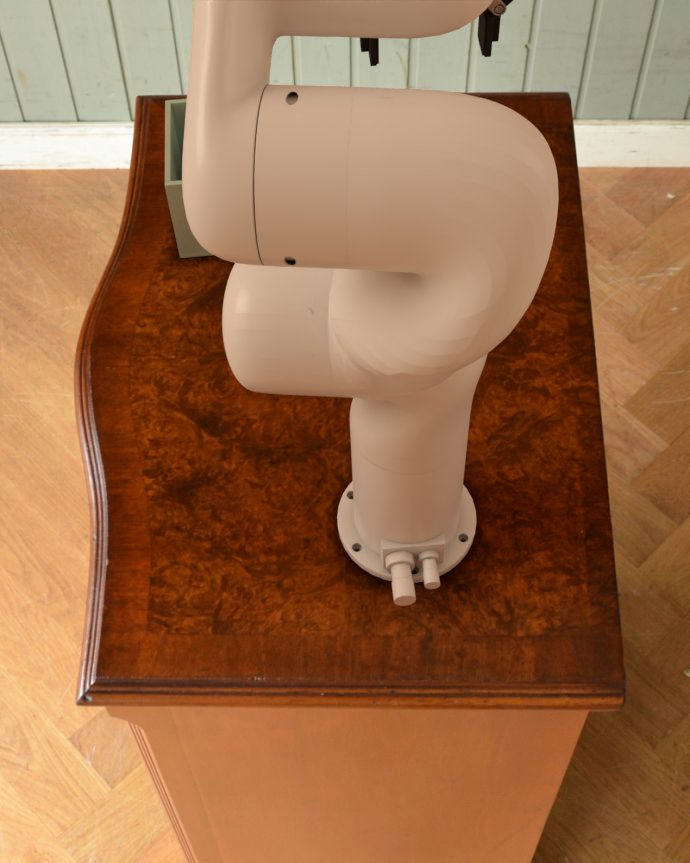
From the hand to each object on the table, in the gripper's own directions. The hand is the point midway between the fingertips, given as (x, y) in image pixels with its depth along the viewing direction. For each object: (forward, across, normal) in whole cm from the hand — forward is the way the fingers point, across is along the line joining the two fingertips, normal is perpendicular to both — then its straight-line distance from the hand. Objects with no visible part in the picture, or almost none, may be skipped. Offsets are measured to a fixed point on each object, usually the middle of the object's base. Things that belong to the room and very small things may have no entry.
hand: (428, 51), depth 99 cm
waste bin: (+28, -19, +12) cm, 36 cm away
